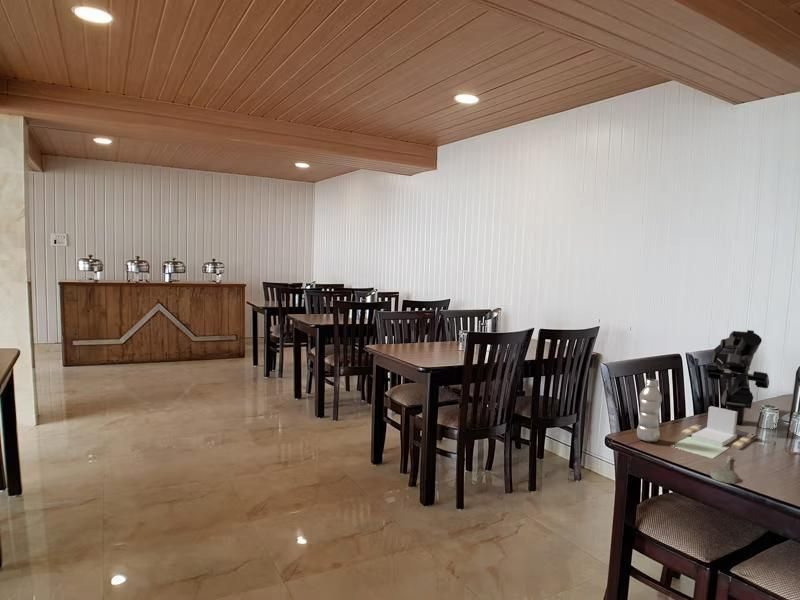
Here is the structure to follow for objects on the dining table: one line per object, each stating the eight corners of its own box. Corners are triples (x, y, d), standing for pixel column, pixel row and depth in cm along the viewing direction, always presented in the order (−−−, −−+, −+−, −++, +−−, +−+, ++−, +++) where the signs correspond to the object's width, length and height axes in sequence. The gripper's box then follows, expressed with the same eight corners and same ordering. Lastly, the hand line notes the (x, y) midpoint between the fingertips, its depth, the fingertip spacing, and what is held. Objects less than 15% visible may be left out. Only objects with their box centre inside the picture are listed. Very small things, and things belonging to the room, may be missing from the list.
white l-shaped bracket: (707, 430, 180) (709, 405, 179) (736, 438, 173) (739, 412, 172) (691, 438, 169) (693, 412, 168) (721, 446, 162) (724, 419, 162)
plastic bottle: (662, 444, 162) (668, 383, 161) (641, 443, 163) (646, 381, 161) (653, 437, 169) (658, 378, 167) (632, 436, 169) (637, 377, 168)
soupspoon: (706, 482, 137) (735, 491, 133) (708, 470, 137) (737, 479, 133) (718, 457, 154) (744, 464, 150) (719, 446, 154) (745, 453, 150)
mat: (688, 437, 171) (688, 436, 171) (729, 447, 162) (729, 447, 162) (670, 447, 161) (670, 446, 161) (712, 459, 152) (712, 458, 152)
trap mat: (705, 423, 189) (705, 422, 189) (756, 435, 177) (756, 434, 177) (699, 426, 184) (699, 425, 184) (751, 439, 172) (751, 438, 172)
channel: (695, 427, 183) (695, 424, 183) (751, 441, 170) (751, 437, 170) (680, 434, 173) (681, 431, 173) (738, 450, 161) (739, 446, 161)
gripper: (709, 342, 188) (696, 375, 181) (770, 350, 174) (758, 386, 168) (714, 361, 194) (701, 393, 187) (773, 370, 180) (762, 405, 174)
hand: (729, 394), depth 179 cm, fingers closed
